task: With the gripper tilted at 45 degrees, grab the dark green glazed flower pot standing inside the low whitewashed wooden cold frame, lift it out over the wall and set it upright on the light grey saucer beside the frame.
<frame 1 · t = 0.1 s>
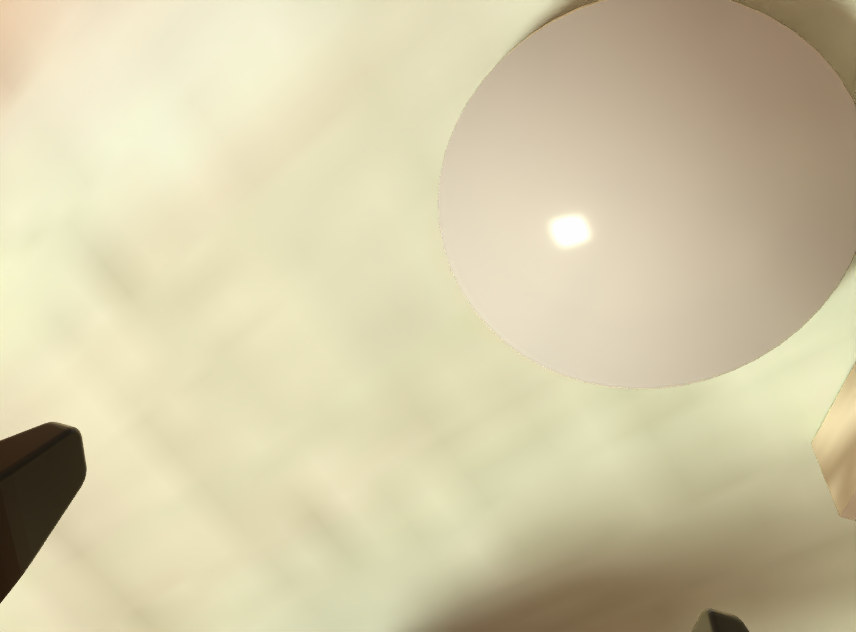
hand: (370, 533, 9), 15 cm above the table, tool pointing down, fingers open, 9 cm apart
saucer: (635, 204, 21), on the table
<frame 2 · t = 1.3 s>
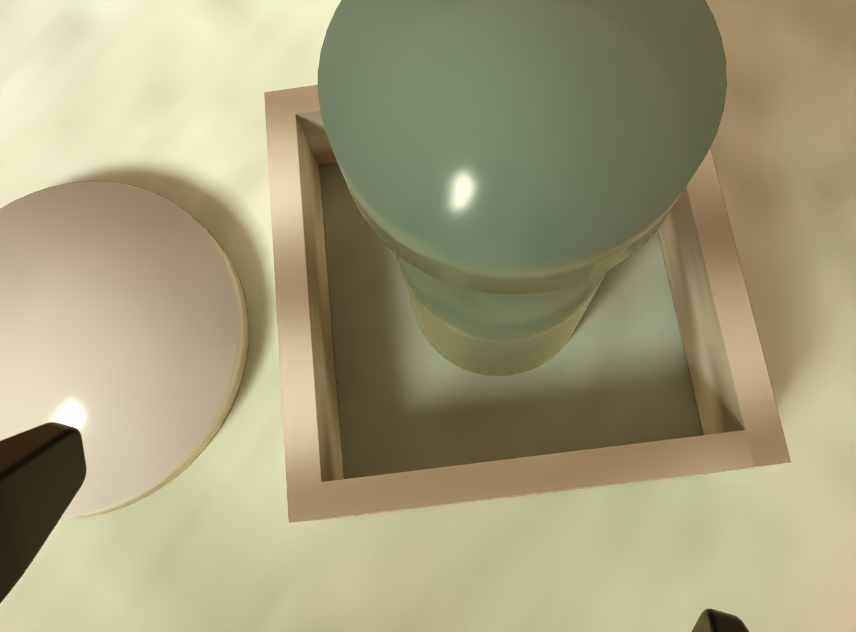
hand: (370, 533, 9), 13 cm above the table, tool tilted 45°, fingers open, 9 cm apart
saucer: (86, 346, 25), on the table
flower pot: (503, 218, 18), in the cold frame
cold frame: (497, 292, 24), on the table
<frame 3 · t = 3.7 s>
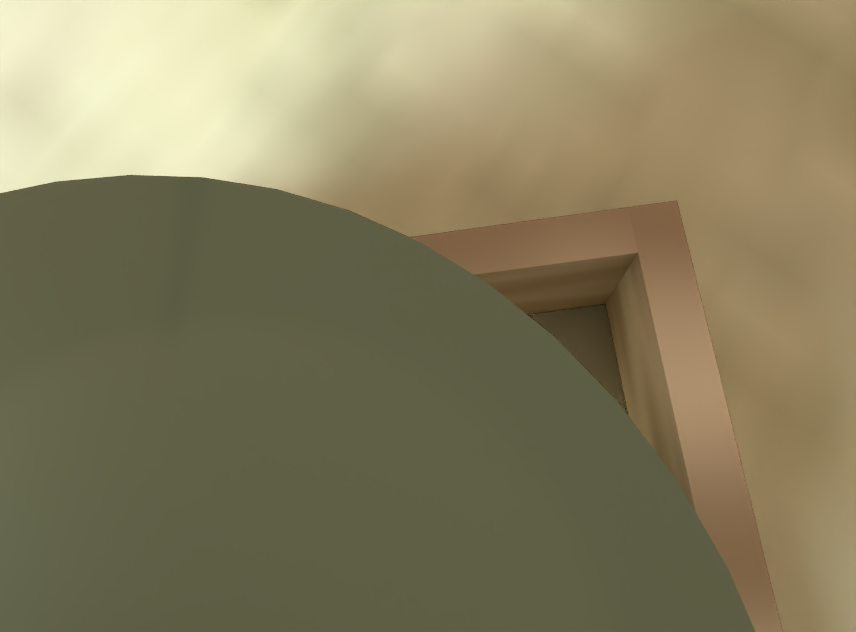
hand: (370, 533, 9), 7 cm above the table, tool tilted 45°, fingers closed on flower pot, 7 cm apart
cold frame: (393, 588, 16), on the table
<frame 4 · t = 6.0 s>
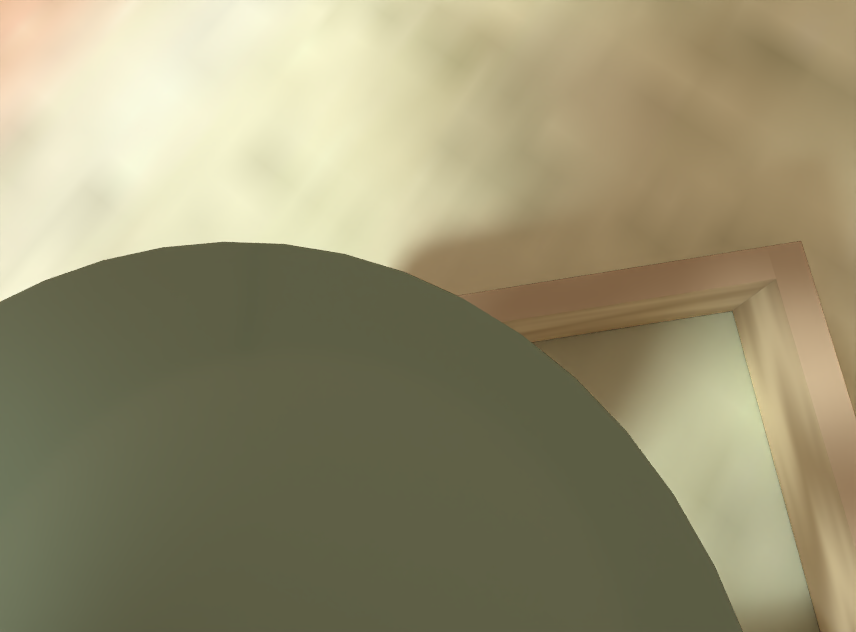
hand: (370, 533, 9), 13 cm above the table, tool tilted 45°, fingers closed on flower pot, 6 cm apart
flower pot: (369, 625, 10), point 12 cm above the table, touching gripper
cold frame: (591, 521, 22), on the table
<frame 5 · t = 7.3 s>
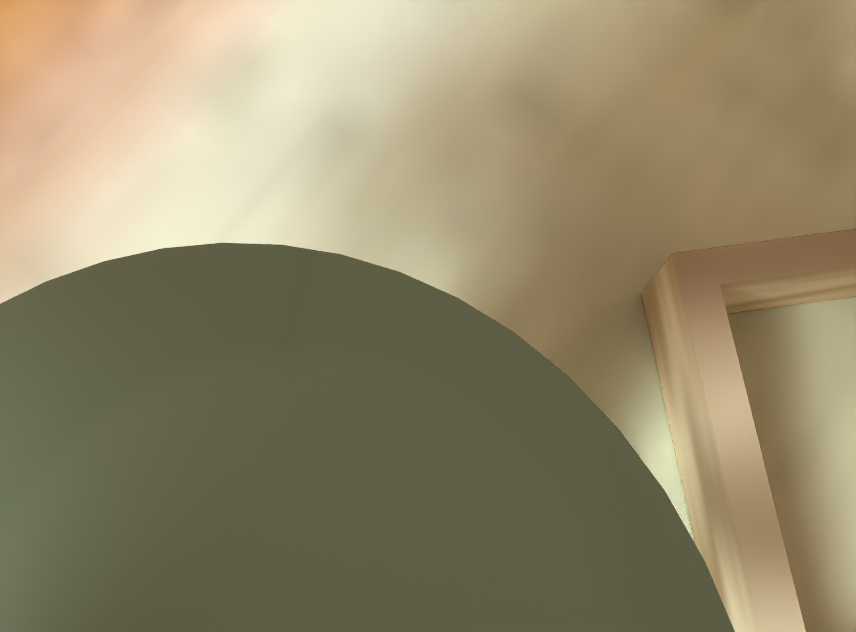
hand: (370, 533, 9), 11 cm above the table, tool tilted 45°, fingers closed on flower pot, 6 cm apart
flower pot: (371, 625, 10), point 10 cm above the table, touching gripper
when the fingers open (9 cm above the table, at t = 8.2 s): flower pot stays where it is, resting on saucer.
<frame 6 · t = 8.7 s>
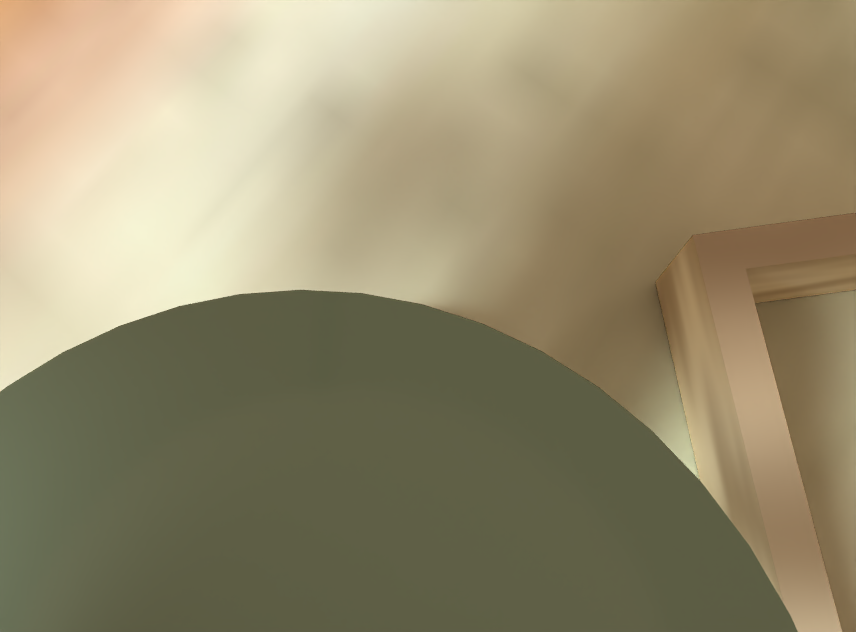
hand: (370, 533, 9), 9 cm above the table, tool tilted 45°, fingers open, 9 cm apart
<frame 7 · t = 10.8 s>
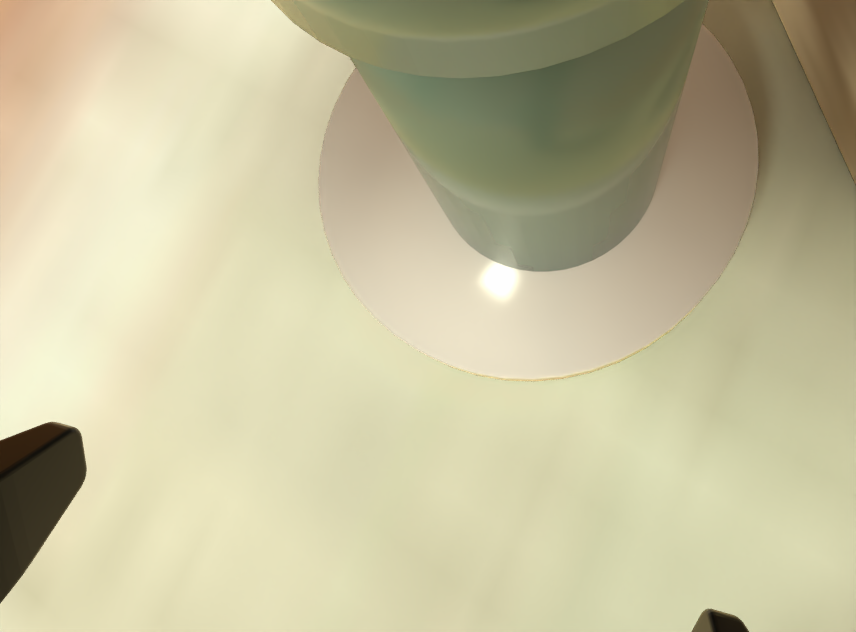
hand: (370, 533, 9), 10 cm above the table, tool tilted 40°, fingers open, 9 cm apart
saucer: (526, 176, 20), on the table
flower pot: (524, 26, 12), on the saucer, point 8 cm above the table
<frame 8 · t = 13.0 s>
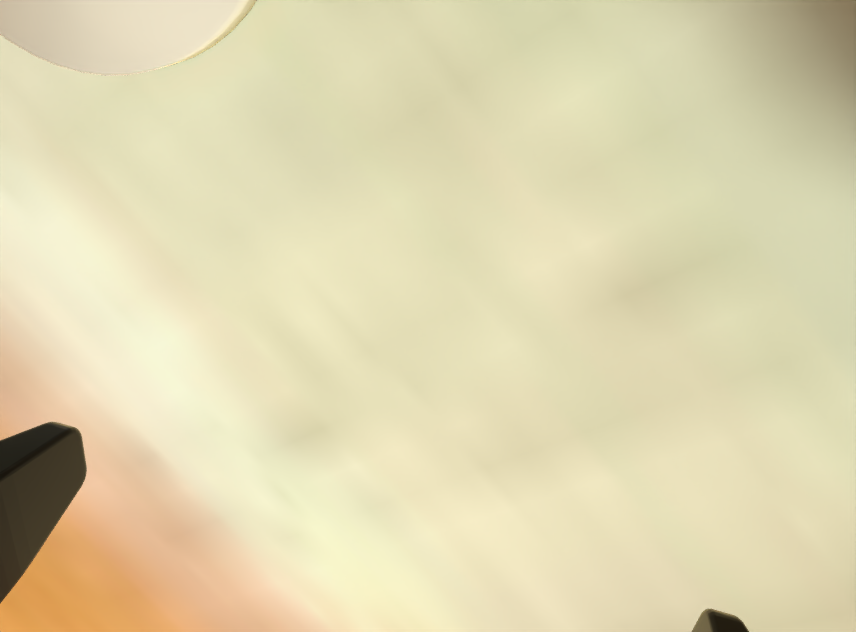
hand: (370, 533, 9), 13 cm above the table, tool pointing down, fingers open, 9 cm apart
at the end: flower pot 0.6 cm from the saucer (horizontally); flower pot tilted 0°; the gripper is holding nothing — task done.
